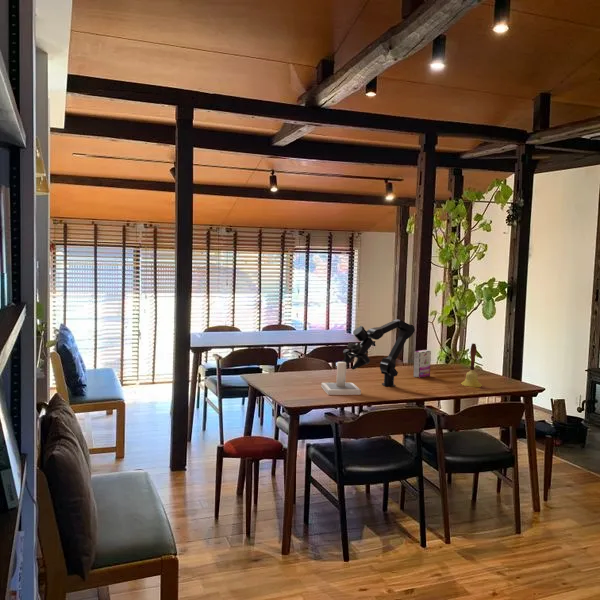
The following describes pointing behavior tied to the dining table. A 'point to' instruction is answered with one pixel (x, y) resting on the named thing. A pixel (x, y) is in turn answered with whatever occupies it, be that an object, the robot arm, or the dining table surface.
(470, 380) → the handbell
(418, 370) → the candy bar box
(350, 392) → the base plate
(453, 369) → the dining table surface
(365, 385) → the dining table surface
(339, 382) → the cream vase
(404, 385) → the dining table surface
